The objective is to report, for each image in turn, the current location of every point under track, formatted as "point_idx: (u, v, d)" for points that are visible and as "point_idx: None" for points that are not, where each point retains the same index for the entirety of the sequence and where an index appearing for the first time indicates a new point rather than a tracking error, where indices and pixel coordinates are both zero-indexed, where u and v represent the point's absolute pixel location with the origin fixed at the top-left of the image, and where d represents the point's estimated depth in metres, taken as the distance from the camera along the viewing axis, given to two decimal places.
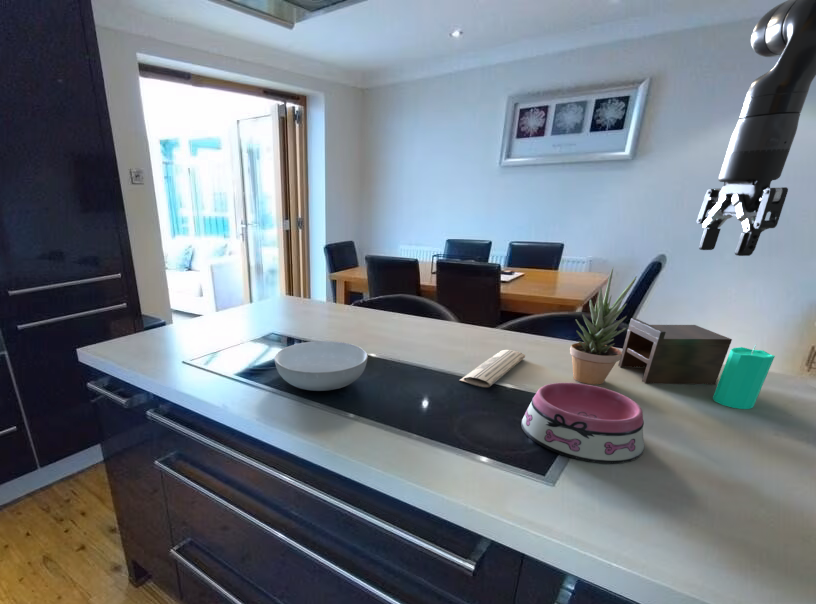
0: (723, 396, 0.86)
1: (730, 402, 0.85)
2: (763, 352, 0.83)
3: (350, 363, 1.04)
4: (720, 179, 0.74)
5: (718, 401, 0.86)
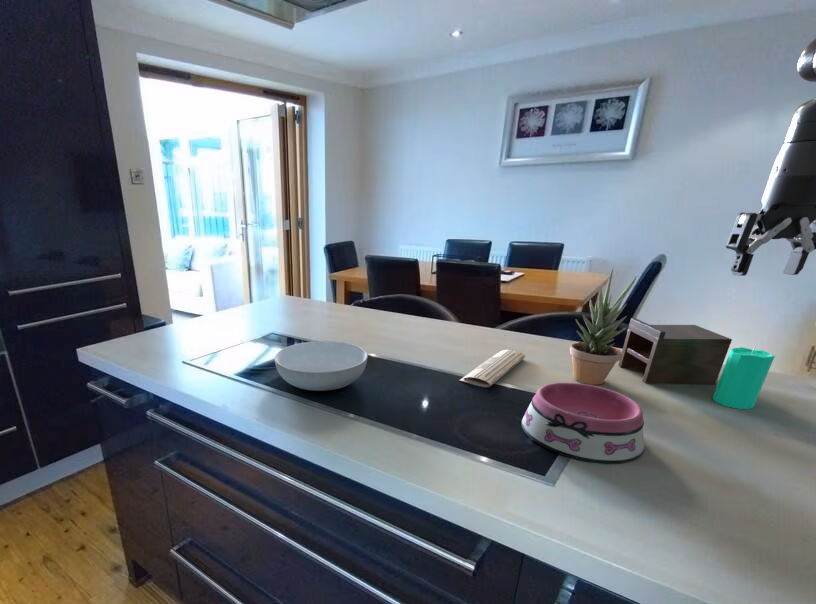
0: (723, 396, 0.86)
1: (730, 402, 0.85)
2: (763, 352, 0.83)
3: (350, 363, 1.04)
4: None
5: (718, 401, 0.86)
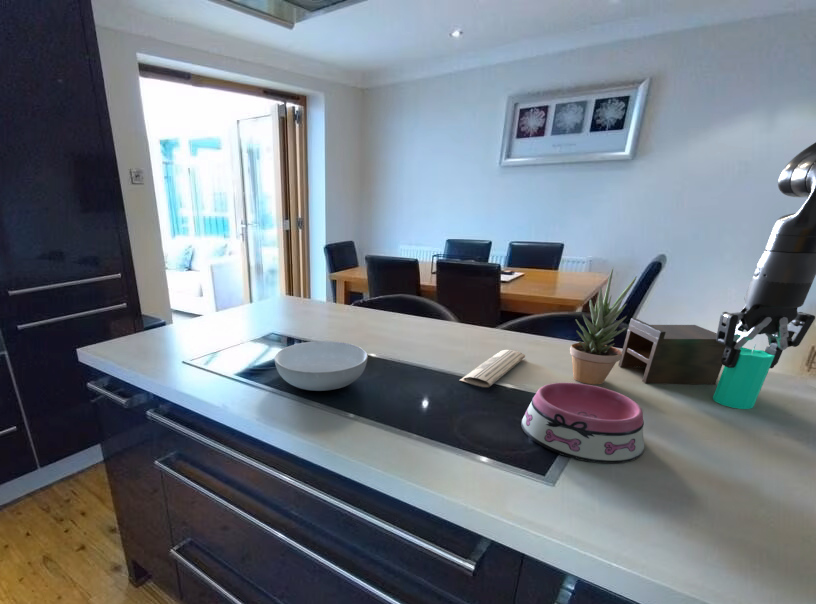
0: (723, 396, 0.86)
1: (730, 402, 0.85)
2: (763, 352, 0.83)
3: (350, 363, 1.04)
4: None
5: (718, 401, 0.86)
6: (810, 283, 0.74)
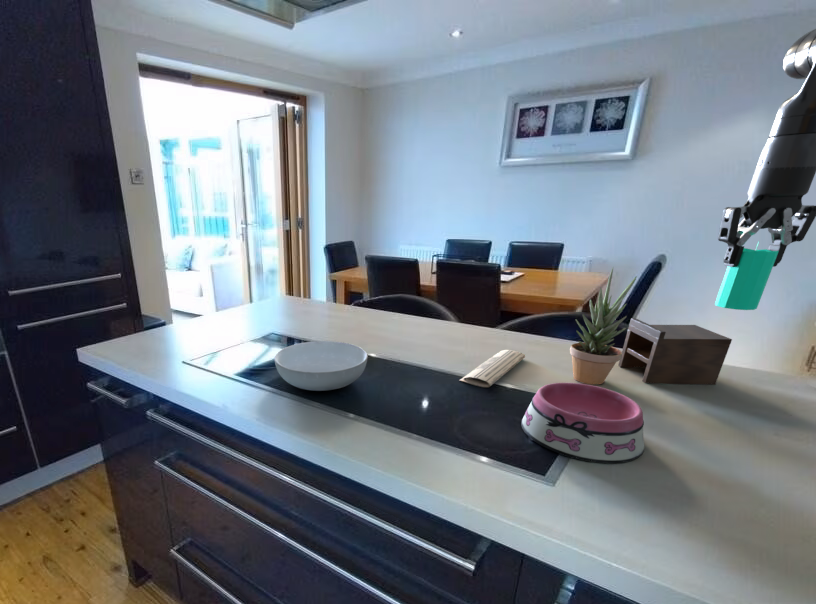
0: (725, 299, 0.84)
1: (733, 304, 0.83)
2: (766, 250, 0.81)
3: (350, 363, 1.04)
4: None
5: (721, 305, 0.84)
6: (815, 167, 0.72)
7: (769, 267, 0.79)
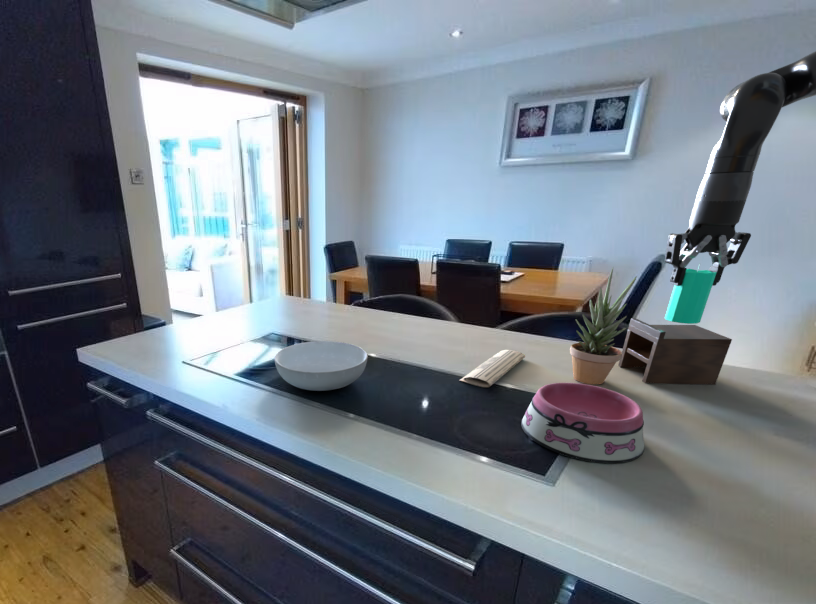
0: (672, 313, 0.94)
1: (679, 318, 0.93)
2: (707, 271, 0.92)
3: (350, 363, 1.04)
4: None
5: (669, 319, 0.95)
6: (743, 201, 0.83)
7: (708, 286, 0.90)
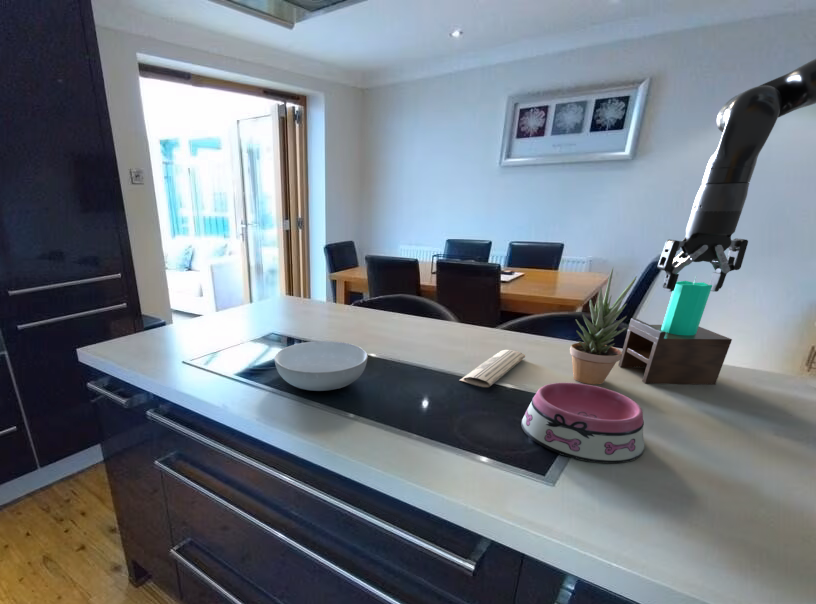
0: (669, 325, 0.95)
1: (675, 330, 0.94)
2: (703, 283, 0.93)
3: (350, 363, 1.04)
4: None
5: (665, 330, 0.96)
6: (739, 211, 0.83)
7: (704, 299, 0.91)
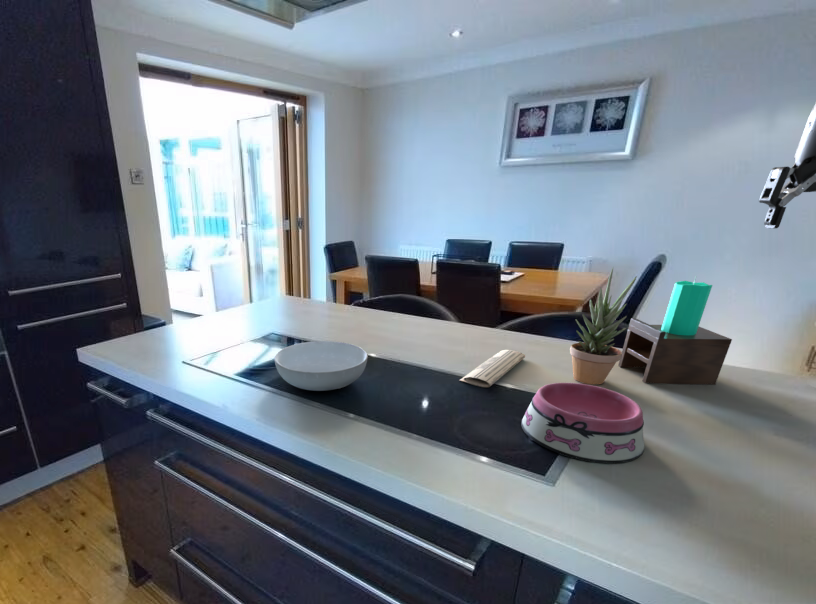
0: (669, 325, 0.95)
1: (675, 330, 0.94)
2: (703, 283, 0.93)
3: (350, 363, 1.04)
4: None
5: (665, 330, 0.96)
6: None
7: (704, 299, 0.91)
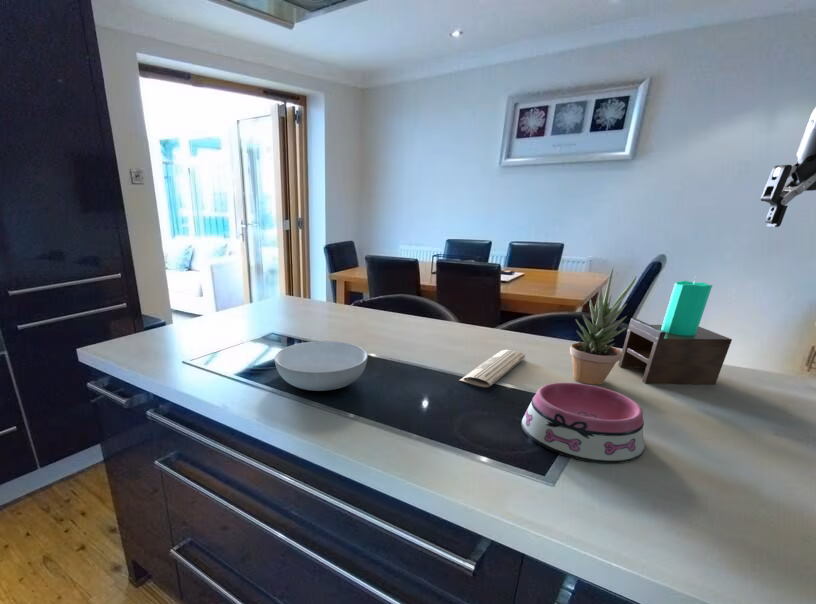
0: (669, 325, 0.95)
1: (675, 330, 0.94)
2: (703, 283, 0.93)
3: (350, 363, 1.04)
4: None
5: (665, 330, 0.96)
6: None
7: (704, 299, 0.91)
